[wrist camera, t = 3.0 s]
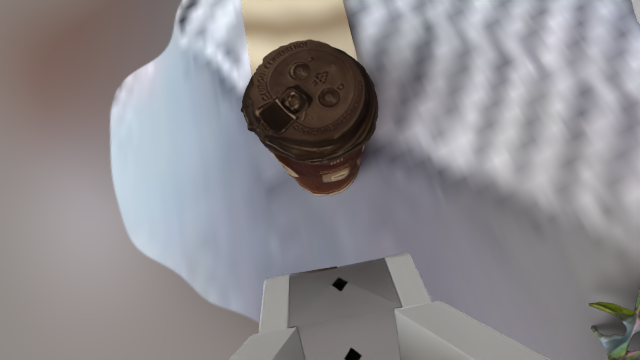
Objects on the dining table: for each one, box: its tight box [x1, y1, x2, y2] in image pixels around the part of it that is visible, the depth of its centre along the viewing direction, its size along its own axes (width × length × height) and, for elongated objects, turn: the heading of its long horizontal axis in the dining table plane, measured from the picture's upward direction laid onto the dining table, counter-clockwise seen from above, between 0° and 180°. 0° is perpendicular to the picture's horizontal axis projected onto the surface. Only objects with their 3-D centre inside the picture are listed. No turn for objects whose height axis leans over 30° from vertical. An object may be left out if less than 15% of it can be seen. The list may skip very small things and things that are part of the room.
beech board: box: [241, 0, 358, 76], centre depth 41 cm, size 18×10×1 cm, turn 10°
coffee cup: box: [241, 39, 378, 196], centre depth 30 cm, size 9×8×13 cm
